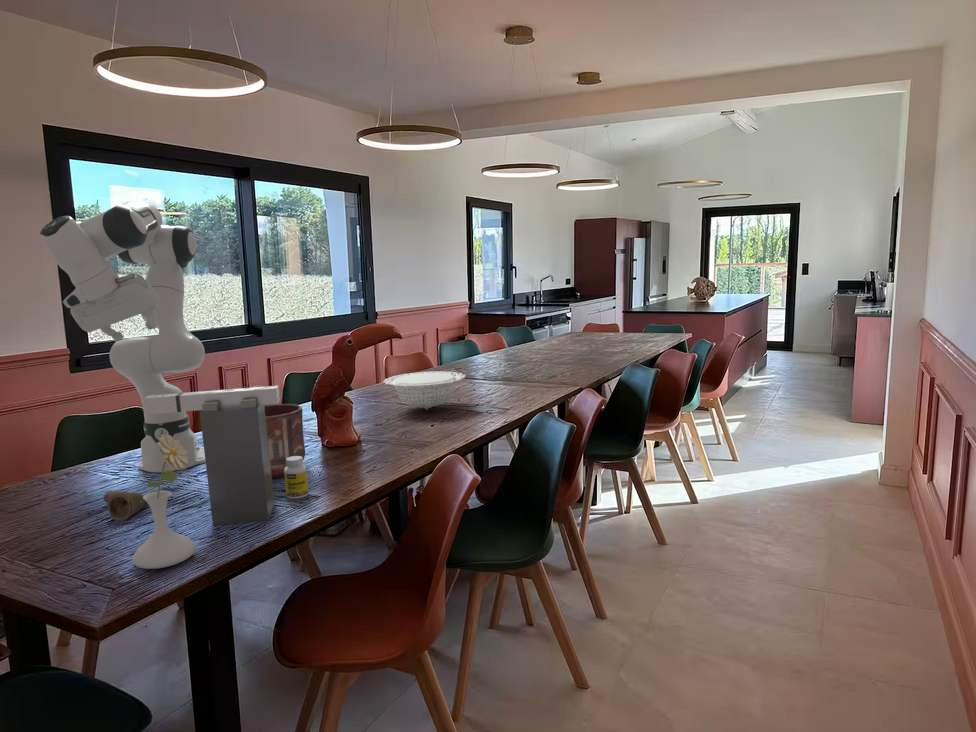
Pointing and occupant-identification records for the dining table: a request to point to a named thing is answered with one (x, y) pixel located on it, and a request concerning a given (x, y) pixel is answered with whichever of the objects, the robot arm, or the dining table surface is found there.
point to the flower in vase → (164, 516)
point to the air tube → (209, 399)
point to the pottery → (284, 435)
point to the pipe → (123, 504)
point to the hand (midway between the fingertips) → (136, 333)
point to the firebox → (237, 462)
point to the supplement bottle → (295, 478)
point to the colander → (425, 386)
